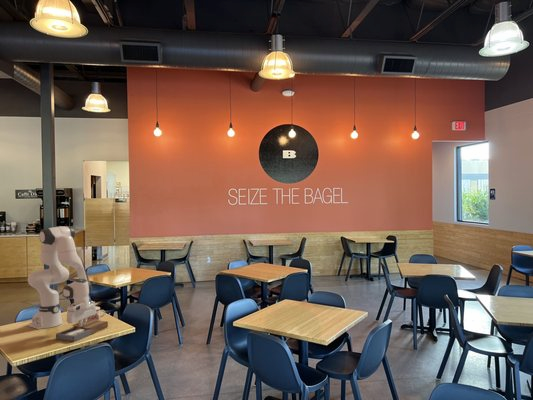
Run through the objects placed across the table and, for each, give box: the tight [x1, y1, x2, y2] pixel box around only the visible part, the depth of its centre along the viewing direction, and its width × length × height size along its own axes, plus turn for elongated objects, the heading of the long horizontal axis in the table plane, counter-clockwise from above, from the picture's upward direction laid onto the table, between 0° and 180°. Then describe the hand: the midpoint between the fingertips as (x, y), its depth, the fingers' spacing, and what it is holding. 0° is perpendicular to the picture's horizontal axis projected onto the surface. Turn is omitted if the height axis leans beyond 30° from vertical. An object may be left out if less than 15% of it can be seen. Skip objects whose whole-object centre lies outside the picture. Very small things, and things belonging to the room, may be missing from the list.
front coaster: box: [66, 331, 78, 336], centre depth 232 cm, size 5×5×2 cm
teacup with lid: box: [86, 305, 106, 321], centre depth 264 cm, size 12×9×12 cm
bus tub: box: [55, 326, 91, 343], centre depth 233 cm, size 15×13×4 cm
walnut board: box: [73, 320, 109, 336], centre depth 246 cm, size 15×14×4 cm
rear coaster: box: [73, 329, 85, 334], centre depth 237 cm, size 5×5×2 cm
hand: (82, 325), depth 239 cm, fingers closed
